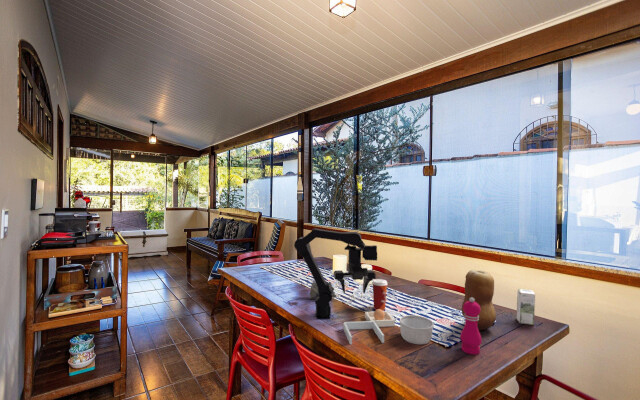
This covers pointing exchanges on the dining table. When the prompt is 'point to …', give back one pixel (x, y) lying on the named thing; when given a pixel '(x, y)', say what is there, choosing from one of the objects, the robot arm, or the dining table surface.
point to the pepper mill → (471, 328)
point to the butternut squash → (481, 296)
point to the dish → (380, 323)
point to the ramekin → (416, 329)
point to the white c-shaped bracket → (362, 325)
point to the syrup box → (525, 306)
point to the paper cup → (379, 293)
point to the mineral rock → (315, 291)
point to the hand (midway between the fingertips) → (354, 293)
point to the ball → (379, 314)
